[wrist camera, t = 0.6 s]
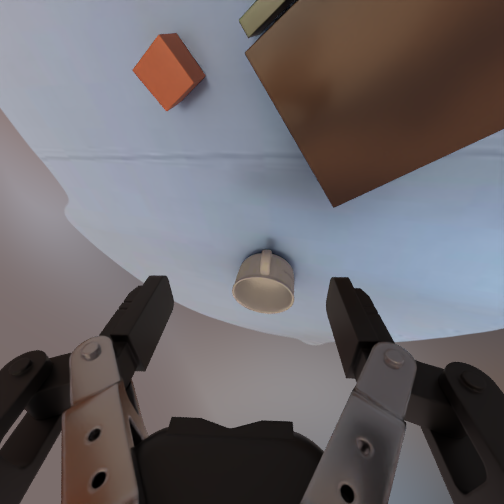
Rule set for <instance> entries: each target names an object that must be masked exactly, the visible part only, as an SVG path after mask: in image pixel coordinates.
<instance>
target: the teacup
mask: <svg viewBox="0 0 504 504" xmlns="http://www.w3.org/2000/svg"><path fill="white" fill-rule="evenodd" d="M232 293H233V296H234V298H235V299H236V301H237V302H238V303H240V304H241V305H242V306H244V307H246V308H248V309H250V310H253V311H256V312H259V313H267V314H273V313H280V312H283V311H285V310H287V309H289V308H290V307H291V306H292V305H293V303H294V273H293V270H292V268H291V266H290V265H289V263H288V262H287V261H286V260H284V259H283V258H281V257H279V256H277V255H274V254H272V251H271V250H266V249H265V250H263V251H262V253H259V254H255V255H252V256H250V257H248V258H247V259H246V260H245V261H244V262H243V263H242V265H241V267H240V269H239V272H238V275H237V278H236V281H235V284H234V286H233V289H232Z"/></svg>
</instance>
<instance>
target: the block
mask: <svg viewBox="0 0 504 504" xmlns="http://www.w3.org/2000/svg"><path fill="white" fill-rule="evenodd" d="M133 72H134V73H135V74H136V75H137V77H138V78H139V79H140V80H141V81H142V83H143V84H144V85H145V86H146V87H147V89H148V90H149V91H150V92H151V93H152V95H153V96H154V97H155V98H156V99H157V101H158V102H159V103H160V104H161V105H162V107H163V108H164V109H165V110H166V111H168V110H170V109H171V108H173V107H174V106H176V105H177V104H179V103H180V102H181V101H182V100H183V99H184V98H185V97H186V96H187V95H188V94H189V93H190V92H191V91H192V90H193V89H194V88H195V87H196V86H197V85H198V84H199V83H200V82H201V81H202V80H203V79H204V78H205V74H204V73H203V71H202V70H201V68H200V67H199V65H198V64H197V62H196V61H195V59H194V58H193V57H192V55H191V54H190V52H189V51H188V49H187V48H186V46H185V45H184V43H183V42H182V40H181V39H180V38H179V36H178V35H177V33H172V34H160V35H158V36H157V38H156V39H155V40H154V42H153V43H152V44H151V46H150V47H149V48H148V50H147V51H146V52H145V54H144V55H143V56H142V58H141V59H140V61H139V62H138V63H137V65H136V66H135V67H134V69H133Z"/></svg>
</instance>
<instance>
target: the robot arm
mask: <svg viewBox="0 0 504 504" xmlns="http://www.w3.org/2000/svg"><path fill="white" fill-rule="evenodd" d="M173 306H174V299H173V295H172V291H171V288H170V284H169V280H168V278H167V276H149V277H148V278H147V280H146V281H145V283H144V284H143V286H138V287H137V288H135V289H134V290H133V291H131V292H130V293H129V294H128V296H127V297H126V299H125V300H124V303H122V304H121V306H120V307H119V310H117V311H116V312H115V314H114V315H113V317H112V318H111V319H110V321H109V322H108V324H107V325H106V326H105V328H104V329H103V331H102V332H101V334H100V335H99V336H96V337H93V338H90V339H88V340H86V341H84V342H83V343H81V344H80V345H79V346H78V347H76V349H75V350H74V351H73V352H72V353H68V354H64V355H60V356H56V357H53V358H48V356H47V355H46V354H45V353H44V352H43V351H39V350H36V351H31V352H27V353H24V354H22V355H20V356H18V357H16V358H15V359H13V360H12V361H10V362H9V363H8V364H6V365H5V366H4V367H3V368H2V369H1V370H0V443H1V441H2V439H3V437H4V436H5V434H6V433H7V432H8V430H9V429H10V427H11V426H12V425H13V423H14V422H15V421H16V419H17V418H18V417H19V415H20V414H21V413H22V411H23V410H24V409H25V410H26V411H27V413H26V415H25V416H24V418H23V419H22V420H21V422H20V423H19V424H18V426H17V427H16V429H15V430H14V431H13V433H12V434H11V436H10V437H9V439H8V440H7V441H6V443H5V444H4V445H3V447H2V448H1V450H0V504H19V503H20V502H21V500H22V498H23V497H24V495H25V493H26V492H27V490H28V488H29V486H30V484H31V483H32V481H33V479H34V478H35V476H36V474H37V472H38V470H39V469H40V467H41V465H42V464H43V462H44V460H45V458H46V457H47V455H48V453H49V451H50V450H51V448H52V446H53V444H54V443H55V441H56V439H57V437H58V436H59V434H60V432H61V430H62V480H61V481H62V482H61V483H62V484H61V486H62V487H61V489H62V490H61V498H62V500H61V504H388V501H389V497H390V492H391V488H392V484H393V480H394V476H395V472H396V468H397V464H398V460H399V455H400V452H401V448H402V443H403V439H404V435H405V431H406V422H404V420H406V421H409V422H411V423H414V424H417V425H419V426H421V429H422V431H423V433H424V435H425V438H426V440H427V442H428V445H429V447H430V449H431V452H432V454H433V456H434V458H435V461H436V463H437V466H438V468H439V470H440V472H441V475H442V477H443V480H444V482H445V484H446V486H447V489H448V491H449V494H450V496H451V498H452V500H453V503H454V504H504V394H503V392H502V391H501V390H500V389H499V387H498V386H497V385H496V384H495V382H494V381H493V380H492V379H491V378H490V377H489V376H487V375H486V374H485V373H484V372H482V371H481V370H479V369H477V368H476V367H473V366H471V365H469V364H466V363H462V362H452V363H449V364H448V365H447V366H446V367H445V369H442V368H439V367H435V366H432V365H428V364H425V363H421V362H419V361H416V360H414V358H413V357H412V355H411V354H410V353H409V352H408V351H406V350H405V349H404V348H402V347H401V346H399V345H397V344H395V343H394V341H393V339H392V337H391V335H390V334H389V332H388V330H387V328H386V326H385V324H384V323H383V321H382V319H381V317H380V315H379V314H378V312H377V310H376V308H375V307H374V304H373V302H372V301H371V299H370V297H369V296H368V295H367V294H366V293H365V292H364V291H363V290H362V289H360V288H354V287H353V285H352V283H351V281H350V279H349V278H348V277H332V278H331V280H330V284H329V289H328V295H327V300H326V311H327V315H328V319H329V322H330V325H331V329H332V332H333V336H334V339H335V342H336V346H337V349H338V352H339V356H340V359H341V362H342V366H343V369H344V372H345V375H346V378H354V379H356V382H357V383H356V386H355V388H354V389H353V390H352V392H351V395H350V397H349V399H348V401H347V403H346V405H345V408H344V410H343V412H342V414H341V416H340V418H339V420H338V423H337V425H336V427H335V429H334V431H333V433H332V436H331V438H330V440H329V442H328V444H327V447H326V449H325V451H323V450H322V449H321V448H320V447H318V446H317V445H316V444H315V443H314V442H313V441H311V440H310V439H308V438H306V437H305V436H303V435H301V434H299V433H297V432H294V431H293V423H292V422H288V421H258V422H255V423H251V424H247V425H243V426H240V427H236V428H226V427H224V426H221V425H218V424H215V423H213V422H210V421H207V420H205V419H202V418H187V417H185V418H184V417H172V418H171V421H170V424H169V427H167V428H164V429H161V430H159V431H157V432H155V433H153V434H151V435H150V436H149V435H148V432H147V430H146V427H145V425H144V422H143V419H142V415H141V411H140V407H139V403H138V399H137V396H136V392H135V388H134V384H133V381H132V377H133V375H134V372H135V371H146V368H147V366H148V364H149V362H150V360H151V357H152V355H153V353H154V350H155V348H156V346H157V344H158V342H159V340H160V337H161V335H162V333H163V331H164V328H165V326H166V324H167V322H168V319H169V317H170V315H171V313H172V310H173Z"/></svg>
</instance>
